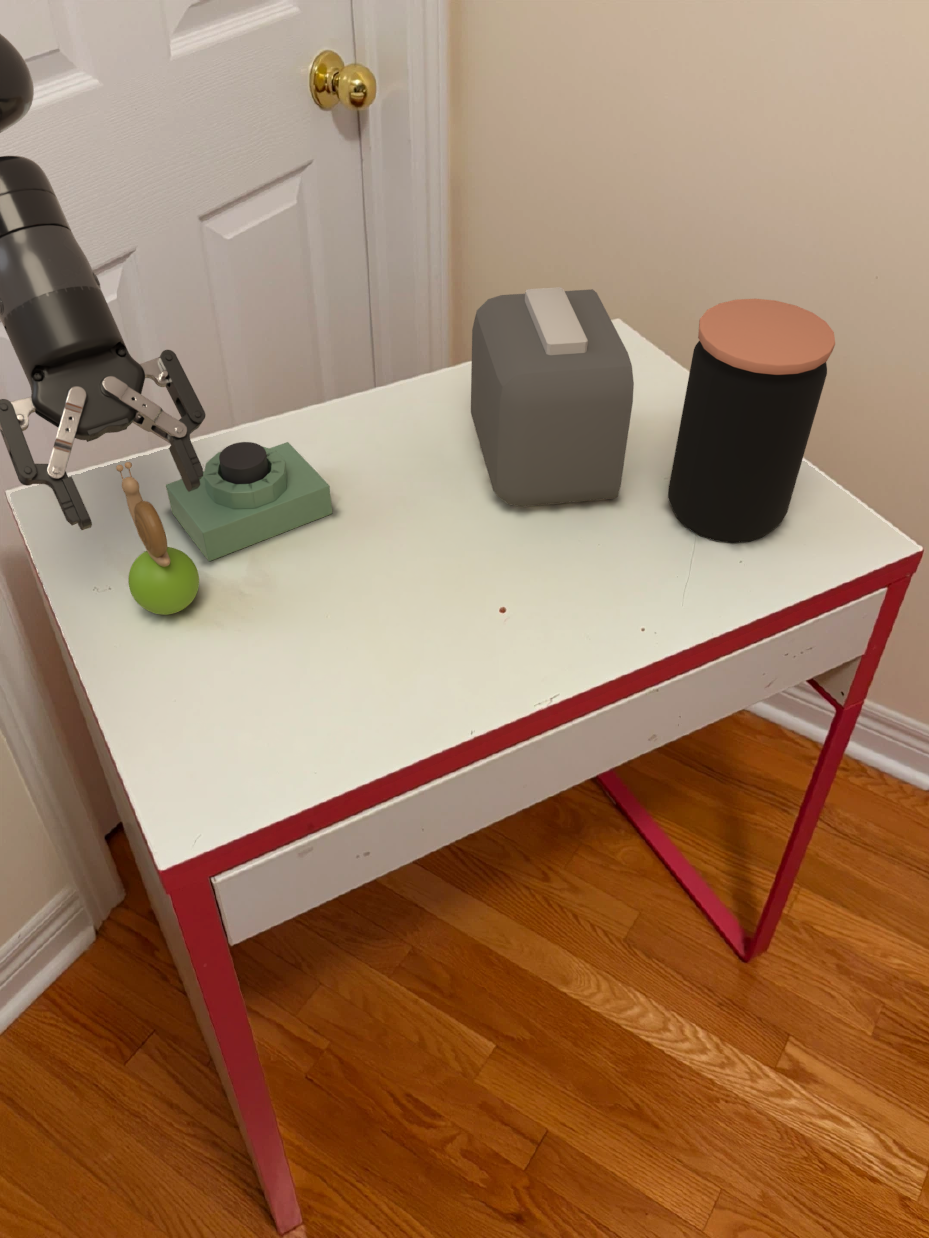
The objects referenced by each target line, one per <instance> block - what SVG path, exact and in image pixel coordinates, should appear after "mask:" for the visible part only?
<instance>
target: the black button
mask: <svg viewBox="0 0 929 1238" xmlns="http://www.w3.org/2000/svg"><path fill="white" fill-rule="evenodd" d="M262 446H263V445H261V444H259V443H257V442H251V441H241V442H239V441H238V442H235V443H232V444H230V445H227V446H225V447H224V448H223V449H222V450H221V451H220V452H221V453H220V455H219V461H220V466H221V472H222V476H223V478H224V479H225V480H226V481H227V482H230V483H233V484H251V483H254V482H256V481H259V480H262V479H263V478H264V477H266V475H267V474H268V471H269V468H268V461H267V455H266V451H265V449H264V448H263V447H264V446H263V447H262Z"/></svg>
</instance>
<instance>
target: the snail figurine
mask: <svg viewBox="0 0 929 1238" xmlns="http://www.w3.org/2000/svg"><path fill="white" fill-rule="evenodd" d="M132 467H133V464H132V463H131V462H130V461H126V462H125V463H124V466H123V465H122V464H117V465H116V467H115V470H116V471H117V472H119V473H120V476H121V480H122V481H121V489H122V491H123V494H124V495H125V499H126V504H127V508H128V511H129V514H130V517H131V519H132V521H133V524H134V526H135V529H136V532H137V535H138V538H139V539H140V540H141V543H142V544H143V546H144V548H145V551H143V552H142V553H141V554H139V556H137V557H136V558H135V560H134V561H133V563H132V564H131V566H130V569H129V572H128V581H127V582H128V588H129V592H130V594H131V596H132V598H133V600H134V601H135V602H136V603H137V604H138V605H139V606H140V607H141V608H142V609H144V610H146V611H148V612H149V613H153V614H156V615H161V616H163V615H173V614H176V613H179V612H181V611H183V610H184V609H186V608H187V607H188V606H189V605H190V604H191V603H192V602H193V601H194V599H195V597H196V596H197V595H198V594H197V593H198V591H199V587H200V575H199V570H198V568H197V566H196V564H195V562H194V561H193V559H192V558H191V557H190V556H189V555H188V554H186V553H185V552H184V551H182V550H180V549H178V548H177V547H172V546H168V538H167V533H166V531H165V528H164V524H163V522H162V520H161V517H160V515H159V513H158V511H157V509H156V508H155V506H154V505H153V503H151V502H150V501H148V500H144V498H143V497H142V494H141V491H140V484H139V481H138V480H137V479H136V478H135V477H133V475H132V473H131V468H132ZM124 468H125V469H127V470H128V473H129V476H126V477H124V476H123V473H122V472H123V471H124Z"/></svg>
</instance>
